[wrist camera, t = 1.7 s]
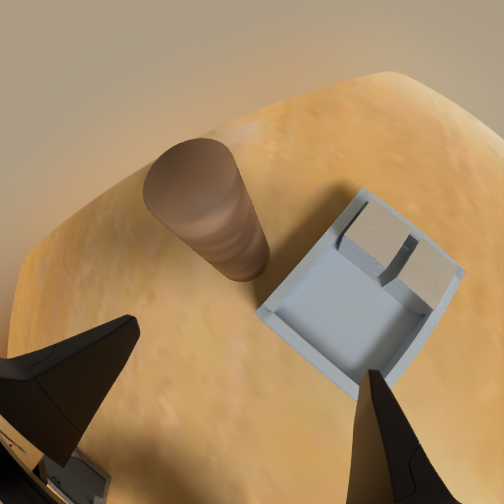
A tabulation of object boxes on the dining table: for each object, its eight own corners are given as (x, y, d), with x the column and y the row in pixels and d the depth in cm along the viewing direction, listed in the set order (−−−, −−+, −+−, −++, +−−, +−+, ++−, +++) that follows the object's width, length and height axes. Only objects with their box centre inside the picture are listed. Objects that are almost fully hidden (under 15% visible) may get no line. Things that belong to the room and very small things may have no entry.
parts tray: (362, 403, 19) (370, 412, 16) (260, 316, 23) (254, 313, 20) (450, 279, 20) (465, 271, 18) (357, 202, 24) (362, 186, 22)
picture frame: (114, 475, 20) (30, 396, 25) (104, 480, 18) (21, 396, 23) (104, 524, 17) (28, 452, 22) (96, 528, 15) (20, 454, 20)
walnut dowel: (243, 293, 24) (180, 243, 12) (206, 258, 26) (128, 189, 13) (281, 251, 24) (256, 165, 12) (242, 219, 26) (192, 126, 14)
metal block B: (373, 280, 21) (386, 268, 17) (337, 251, 23) (344, 234, 19) (397, 245, 22) (412, 228, 18) (363, 219, 23) (372, 197, 19)
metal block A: (414, 315, 19) (434, 310, 16) (382, 287, 21) (396, 277, 17) (436, 279, 20) (457, 268, 16) (405, 252, 21) (422, 236, 18)
